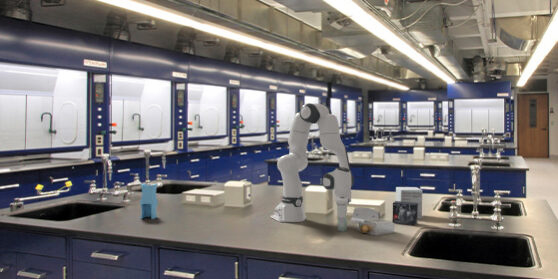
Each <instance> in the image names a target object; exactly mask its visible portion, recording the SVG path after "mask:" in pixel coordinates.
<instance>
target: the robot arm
mask: <svg viewBox="0 0 558 279" xmlns="http://www.w3.org/2000/svg"><path fill="white" fill-rule="evenodd" d="M313 124H314V125H315V124H316V125H318V128H319V142H320V145H321V146H322V148H324V149H325V150H327V151H329V152H331V153H333V154H334V155H335V156H336V157H337V161H338V165H339V167H336V168H335V169H334V170H333V171H331V172H330V171H329V172H327V173H324V175H323V176H322V180H321V182H322V183H321V184H322V186H323V187H324V189H325V190H327V191H334V202H335V204H336V210H337V211H336V212H337V219H338V218H339V219H340V226H344V219H345V217H347V213H348V206H349V204H350V203H351V202H352V189H351V188H353V185H354V182H355V181H354V180H355V179H354V178H355V177H354V175H353V172H352V169H351V165H350V161H349V156H348V150H347V148H346V145H345V144H344V143H343V141H342V139H341V133H340V125H339V120H338V117H337V116H336V115H335V114H333V113H332V110H331V108H330V107H329V106H328V105H326V104H321V103H311V102H310V103H305V104H303V105H302V106H301V107H300V109H299V112H297V113H296V114H295V115H294V118H293V120H292V123H291V125H290V129H289V130H290V131H289V134H288V140H287V143H288V146H289V153H288V154H285V155H282V156H280V157H279V158H278V160H277V164H276V167H277V169H278V171H279V172H280V174H281V178H282V184H283V185H282V187H283V189H282V190H283V192H282V194H283V195H282V196H281V202H280V203H279V204H277V206H276V207H275V208H274V214H272V215H270V218H272V219H274V220H276V221H277V222H279V223H281V222H282V223H300V222H305V220H306V219H307V217H306V216H305V206H304V204H303V201H304V197H303V183H302V182H303V181H302V180H301V179H300V174H299V172H302V171H304V170H305V169H306V168H307V166H308V164H309V163H308V162H309V160H308V157H307V144H308V139H309V137H310V136H309V135H310V131H311V126H313Z"/></svg>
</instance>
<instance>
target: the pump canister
mask: <svg viewBox="0 0 558 279" xmlns="http://www.w3.org/2000/svg"><path fill="white" fill-rule="evenodd" d="M337 231H338V232H347V231H348V217H347V216H346V217H345V219H344V226H340V219H339V218H338V217H337Z"/></svg>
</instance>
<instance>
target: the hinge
mask: <svg viewBox="0 0 558 279" xmlns="http://www.w3.org/2000/svg"><path fill="white" fill-rule="evenodd" d="M373 218H379V219H381V212H380V211H379V210H376V209H374V208H371V207H365V206H364V207H363V206H362V207H356V208H354V209H353V212H352V216H351V218H350V221H349V222H350V223H351V224H358V225H359V222H360V221H364V220H366V219H373Z"/></svg>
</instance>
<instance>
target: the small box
mask: <svg viewBox="0 0 558 279" xmlns="http://www.w3.org/2000/svg"><path fill="white" fill-rule="evenodd" d="M417 214H418V203H411V202H401V201H396V200H395V201H393V202H392V221H391V222H393V223H394V224H397V225H404V226H405V225H406V226H416V225H418V219H417V216H418V215H417Z"/></svg>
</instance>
